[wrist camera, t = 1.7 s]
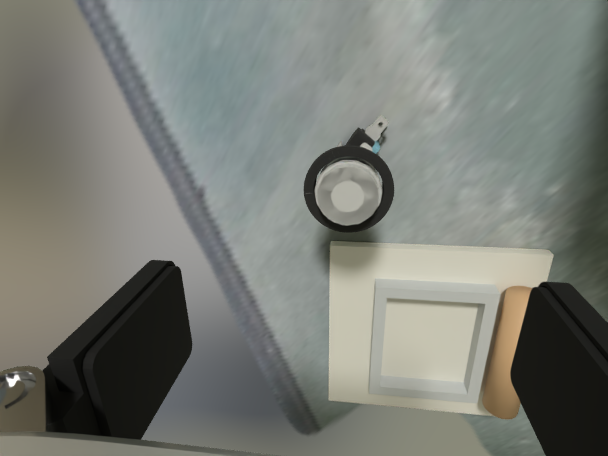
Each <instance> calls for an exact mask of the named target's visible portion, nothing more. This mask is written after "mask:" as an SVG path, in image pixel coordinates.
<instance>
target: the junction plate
mask: <svg viewBox="0 0 608 456" xmlns="http://www.w3.org/2000/svg"><path fill="white" fill-rule="evenodd" d="M553 256H554V255H553V254H552V253H551V252H550V251H549V250H547V249H522V248H497V247H472V246H447V245H422V244H397V243H372V242H347V241H331V243H330V308H329V401H340V402H350V403H361V404H372V405H382V406H393V407H405V408H414V409H425V410H435V411H447V412H456V413H467V414H477V415H488V416H496V417H498V418H501V419H513V418H515V417H516V416H517V414H518V411H519V407H520V403H521V402H520V400H519V398H518V396H517V394H516V391H515V389H514V387H513V385H512V382H511V377H510V370H511V366H512V362H513V358H514V354H515V350H516V346H517V342H518V338H519V334H520V331H521V327H522V323H523V319H524V315H525V311H526V307H527V303H528V299H529V295H530V292H531V290H532V288H533V287H538V286H539V284H540V283H542V282H547V278H548V275H549V271H550V267H551V263H552V260H553Z"/></svg>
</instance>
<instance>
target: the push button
mask: <svg viewBox="0 0 608 456" xmlns="http://www.w3.org/2000/svg"><path fill="white" fill-rule="evenodd" d="M380 122H382V123H383V125H382V126H379V125H378V124H379V123H380ZM388 124H389V122H388V120H387V119H386V118H384V117H383V116H382V115H380V116H379V117H378V118H377V120H376V121H375V122H374V123H373V124H372V126H371V125H369V126H368V127H367V129H366V130H364V129H360V128H358V129H357V130H356V131H355V132H354V133H353V135H352V136H351V138H350V139H349V141H348V142H347V144H346V145H345V146H342V145H341V144H342V141H341V142H340V143H339V144H338V146H337V147H335V148H332V149H330V150H328V151H326V152H325V153H323V154H322V155H320V156H319V157H318V158H317V159H316V160H315V161H314V162H313V164H312V165H311V167H310V169H309V170H308V173H307V175H306V178H305V182H304V197H305V201H306V204H307V207H308V209H309V210H310V212H311V214H312V215H313V216H314V217H315V218H316V219H317V220H318V221H319V222H320V223H321V224H323V225H324V226H326V227H328V228H330V229H332V230H335V231H339V232H358V231H362V230H365V229H368V228H370V227H372V226H373V225H375V224H376V223H378V222H379V221H380V220H381V219H382V218H383V217H384V216H385V215H386V213H387V212H388V210H389V208H390V206H391V204H392V201H393V196H394V183H393V178H392V175H391V172H390V170H389V168H388V166H387V165H386V163H385V162H384V161H383V160H382V159H381V158H380V157H379V156H378V155H377V154H376V153H377V152H378V151H379V150H380V145H379V142H378V141H377V140H378V139H379V138H380V137H381V135H380V134H381V132H382V131H383V130H384V129H385V128H386V127H387V125H388ZM324 166H325V167H324ZM373 166H374V167H375V168H376V170H377V171H378V172H379V174H380V176H381V178H382V186H381V183H380V180H379V177H378V175H377V174H376V172H375V169H374V167H373ZM323 167H324V168H323ZM322 168H323V169H322ZM321 169H322V171H321V174H320V176H319V177H318V180H317V183H316V178H317V175H318V173H319V171H320V170H321Z"/></svg>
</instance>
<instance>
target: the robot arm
mask: <svg viewBox="0 0 608 456" xmlns="http://www.w3.org/2000/svg"><path fill="white" fill-rule="evenodd" d="M191 350H192V338H191V332H190V326H189V320H188V313H187V307H186V300H185V294H184V288H183V281H182V275H181V270H180V268H179V267H178V266H175V264H174V263H173V262H172V261H161V260H151V261H149V262H148V263H147V264H146V265H145V266H144V267H143V268H142V269H141V270H140V271H139V272H138V273H137V274H136V275H134V276H133V277H132V278H131V279H130V280H129V281H128V282H127V283H126V284H125V285H124V286H123V287H122V288H120V289H119V290H118V291H117V292H116V293H115V294H114V295H113V296H112V297H111V298H110V299H109V300H108V301H106V302H105V303H104V304H103V305H102V306H101V307H100V308H99V309H98V310H97V311H96V312H95V313H94V314H93V315H92V316H90V317H89V318H88V319H87V320H86V321H85V322H84V323H83V324H82V325H81V326H80V327H79V328H78V329H77V330H75V331H74V332H73V333H72V334H71V335H70V336H69V337H68V338H67V339H66V340H65V341H64V342H63V343H62V344H60V346H58V347H57V348H56V349H55V350H54V351H53V352H52V353H51V354H50V355H49V356H48V357H47V358H48V361H49V365H48V366H47V367H46V368H45V369H44V370H43V371H42V370H40V369H39V368H37V367H32V366H21V367H14V368H10V369H7V370H3V371H1V372H0V456H277V455H270V454H261V453H252V452H244V451H235V450H226V449H217V448H209V447H199V446H191V445H181V444H173V443H165V442H156V441H147V440H141V438H142V437H143V435H144V433H145V431H146V430H147V428H148V426H149V424H150V423H151V421H152V419H153V417H154V416H155V414H156V413H157V411H158V409H159V407H160V406H161V404H162V402H163V401H164V399H165V397H166V396H167V394H168V392H169V390H170V389H171V387H172V385H173V384H174V382H175V380H176V378H177V377H178V375H179V373H180V372H181V370H182V368H183V366H184V365H185V363H186V361H187V359H188V358H189V356H190V354H191ZM510 377H511V382H512V385H513V387H514V389H515V391H516V394H517V396H518V398H519V400H520V402H521V404H522V406H523V408H524V410H525V413H526V415H527V417H528V419H529V421H530V423H531V425H532V427H533V429H534V432H535V434H536V436H537V438H538V440H539V442H540V444H541V446H542V448H543V451H544V453H545V455H546V456H608V323H607V322H606V321H605V320H604V319H603V318H602V317H601V315H600V314H599V313H598V312H597V311H596V310H595V309H594V308H593V307H592V306H591V305H590V304H589V303H588V302H587V301H586V300H585V299H584V298H583V297H582V296H581V295H580V293H579V292H578V291H577V290H576V289H575V288H574V287H573V286H572V285H571V284H569V283H558V282H542V283H540V284H539V286H538V287H533V288H532V290H531V292H530V295H529V299H528V303H527V307H526V311H525V315H524V319H523V323H522V327H521V331H520V334H519V338H518V342H517V346H516V350H515V354H514V358H513V362H512V366H511V370H510Z"/></svg>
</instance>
